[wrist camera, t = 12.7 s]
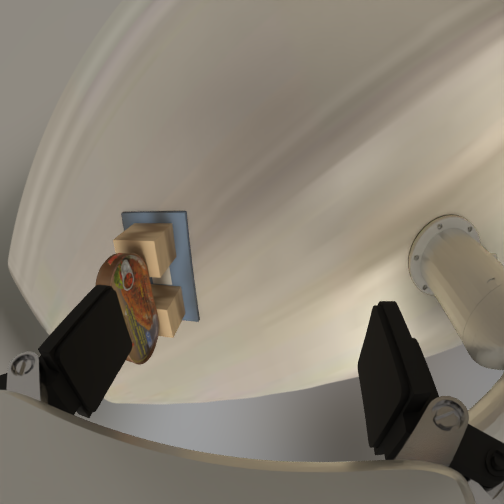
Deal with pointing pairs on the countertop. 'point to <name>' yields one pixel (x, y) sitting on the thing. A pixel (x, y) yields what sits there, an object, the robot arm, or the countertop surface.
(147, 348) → the tin
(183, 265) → the bridge base
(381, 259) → the countertop surface
